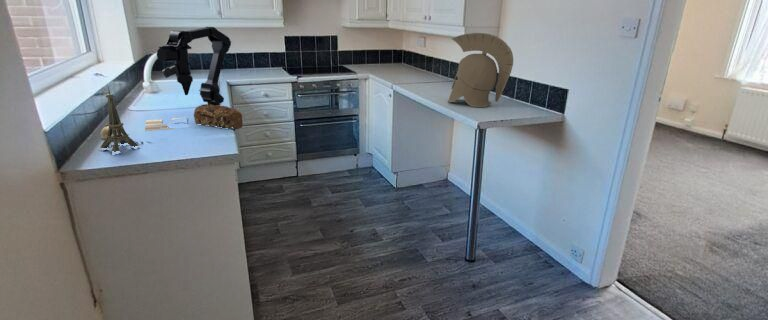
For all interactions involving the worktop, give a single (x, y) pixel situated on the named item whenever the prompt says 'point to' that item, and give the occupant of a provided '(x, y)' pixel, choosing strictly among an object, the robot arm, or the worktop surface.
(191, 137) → the worktop surface
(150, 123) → the oak plank
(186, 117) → the oak plank
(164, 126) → the cardboard box
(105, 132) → the onion
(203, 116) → the bread
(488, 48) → the helmet
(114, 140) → the eiffel tower
